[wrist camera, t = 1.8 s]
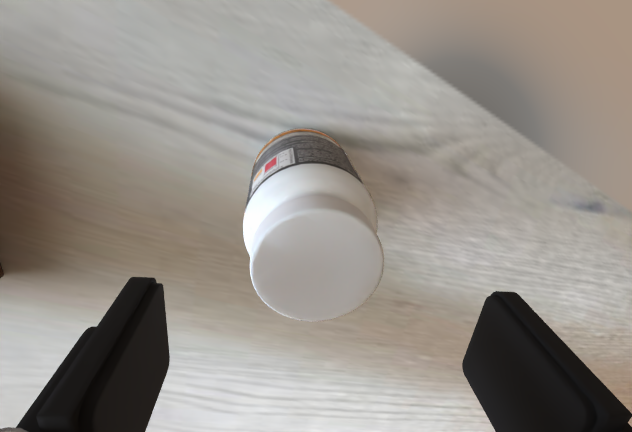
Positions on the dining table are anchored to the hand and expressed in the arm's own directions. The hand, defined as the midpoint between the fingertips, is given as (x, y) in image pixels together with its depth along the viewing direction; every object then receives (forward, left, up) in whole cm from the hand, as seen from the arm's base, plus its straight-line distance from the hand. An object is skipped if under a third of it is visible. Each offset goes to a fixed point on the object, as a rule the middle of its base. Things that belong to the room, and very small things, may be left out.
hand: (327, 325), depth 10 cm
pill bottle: (0, 0, -12) cm, 12 cm away
